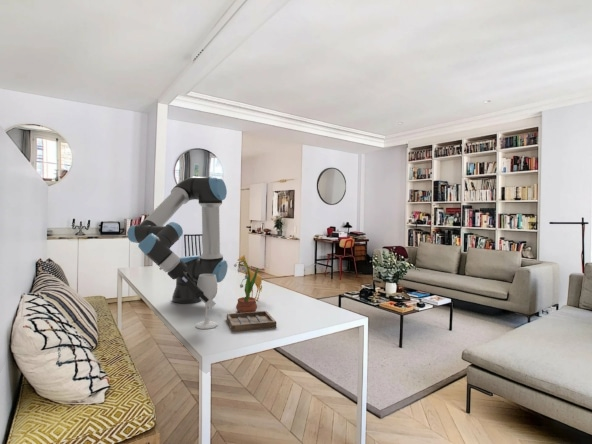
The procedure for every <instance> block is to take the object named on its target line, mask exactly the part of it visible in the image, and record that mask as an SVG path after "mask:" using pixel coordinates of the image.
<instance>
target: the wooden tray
mask: <svg viewBox="0 0 592 444" xmlns="http://www.w3.org/2000/svg"><path fill="white" fill-rule="evenodd" d="M225 318H226V321H227V324H228V326H229V328H230V330H231V332H232V333H233V332H234V333H236V332H237V333H238V332H245V331H246V332H247V331H255V330H264V329H265V330H266V329H267V330H268V329H269V330H270V329H276V328H277V321H276V319H275V318H274V317H273V316H272V315H271V314H270V313H269V312H268V311H267V310H260V311H257V310H256V311H254V312H244V313H241V312H235V313H234V312H231V313H226V317H225Z"/></svg>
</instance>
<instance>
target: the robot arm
mask: <svg viewBox="0 0 592 444" xmlns="http://www.w3.org/2000/svg"><path fill="white" fill-rule="evenodd" d="M227 192H228V191H227V186H226V183H225V181H224V180H223V178H222V177H220V176H191V177H187V178H186V179H184V180H182V181H180V182H178V183H177V184H176V185H175V186H174V187H173V188H172V189H171V190H170V194H169V195H168V196H167V197H166V198H164V200H162V201H161V203H160V204H159V205H158V206H156V208H155V209H154V210H153V211H152V212H151V213H150V214H148V216H146V218H145V219H144V220H143V221H142V222H141V223H140V224H135V225H133V224H132V225H131V226H129V228H128V229H127V235H126V236H127V238H128V240H129V241H130V242H131V243H136V244H138V248H139V250H140V251H141V252H142V253H143V254H144V255H146V256H147V258H149V260H151V261H152V262H153V263H155V264H156V265H157V266H158V267H159V268H158V269H159V271H161V270H162V271H164V272H165V273H167V276H169V277H170V278H171V279H172V280H175V282H176V283H175V288H174V291H173V292H172V293H173V294H172V299H171V301H172V302H173V303H177V304H193V303H198V302H202V303H204V305H205V304H206V305H207V306H208V309H212V308H214V307H215V305H216V304H217V303H216V302H215V301H214V299H213V300H212V299H211V298H210V297H209V296H207V295H206V294H205V293H203V292H202V290H201V289H200V288H199V287H198V286H197V283H198V278H199V275H201V274H215V275H216V279H217V284H218V283H221V282H223V281H224V279H225V278H226V276H227V273H228V266H229V265H228V261H227V260H225V259H224V255H223V254H222V253H221V241H220V239H221V237H220V235H221V234H220V232H221V231H220V229H221V228H220V206H221V205H222V204H223V201H224V200H225V199H226V197H227ZM192 200H193V201H194V200H196V201H197V200H198V204H199V206H201V227H202V231H201V233H202V235H201V236H202V237H201V238H202V241H201V242H202V254H201V255H198V254H197V255H190V256H189V255H187V256H186V255H185V256H182V257H179V256H178V255H177V254H176V253H175V252H174V251H172V250H171V247H172V246H173V245H174V244H176V242H178V241H179V240H180V238H181V237H182V236H183V232H184V231H183V227H182V226H181V225H180V224H179V223H177V222H174V221H172V222H169V223H167V222H168V221H169V220H170V219H171V218H172V217H173V216H174V214H176V213H177V211H178V210H179V209H180V208H181V207H182V206H183V205H186V204H187V203H188V202H189V201H192ZM165 224H166V225H165Z"/></svg>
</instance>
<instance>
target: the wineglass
mask: <svg viewBox="0 0 592 444" xmlns="http://www.w3.org/2000/svg"><path fill="white" fill-rule="evenodd" d="M197 286H198V287H199V288H200V289H201V290H202V292H203V293H205V294H206V295H207V296H209V297H210V298H211V299H212V300H213V301H214V299H215V298H216V296H217V294H218V283H217V279H216V275H215V274H201V275H199V278H198V283H197ZM204 305H205V315H204V316H205V317H204V321H201V322H198V323H196V324H195V328H196V329H200V330H210V329H214V328H216V327H217V326H218V323H217V322H214V321H210V320H209V307H208V306H207V305H206V304H205V303H204Z"/></svg>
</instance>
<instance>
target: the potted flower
mask: <svg viewBox="0 0 592 444" xmlns="http://www.w3.org/2000/svg"><path fill="white" fill-rule="evenodd" d="M243 260H244V259H243ZM243 262H244V263H245V264H246V265H244V263H243ZM237 263H238V264H237ZM241 263H242V264H241ZM240 265H241V268H240ZM244 266H246V267H247V268H246V267H244ZM233 267H234V268H236V267H237V272H238V273H241V272H242V271H243V272H244V273H245V272H247V273H248V275H247V273H245V275H244V278H243V279H242V281H244V280H246V281H245V285H244V284H243V282H241V283H240V284H239V288H240V289H241V288H244V293H245V296H244V297H239V298H237V303H236V306H235V308H236V309H235V310H237V311H238V313H244V312H257V309H258V305H257V303H256V302H257V301H256V300H257V298H256V299H255V297H253V296H251V294H252V288H253V289H254V286H255V280H256V276H257V274H258V271H259V267H256V269H255V272H254V273H255V274H254V277H253V279H252V281H251V282H250V273H249V269H250V267H249V264H248V263H247V261H246V262H245V261H242V260H239V261H238V262H236V263H234V264H233ZM247 270H248V271H247ZM249 295H250V297H249Z"/></svg>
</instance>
